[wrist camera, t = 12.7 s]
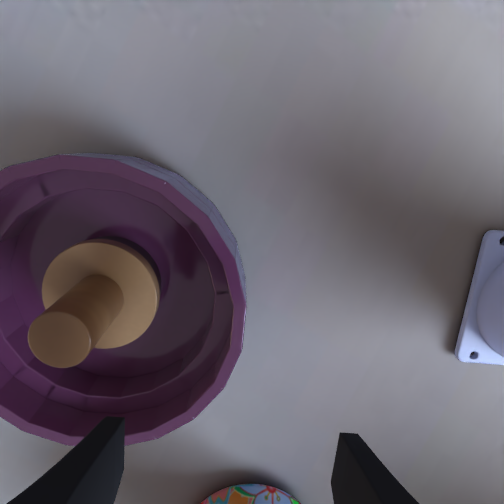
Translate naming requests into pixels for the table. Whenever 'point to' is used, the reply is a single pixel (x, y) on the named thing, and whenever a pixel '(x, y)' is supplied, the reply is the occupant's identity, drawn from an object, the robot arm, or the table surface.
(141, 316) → the pot brush
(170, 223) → the bowl
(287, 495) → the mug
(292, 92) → the table surface
